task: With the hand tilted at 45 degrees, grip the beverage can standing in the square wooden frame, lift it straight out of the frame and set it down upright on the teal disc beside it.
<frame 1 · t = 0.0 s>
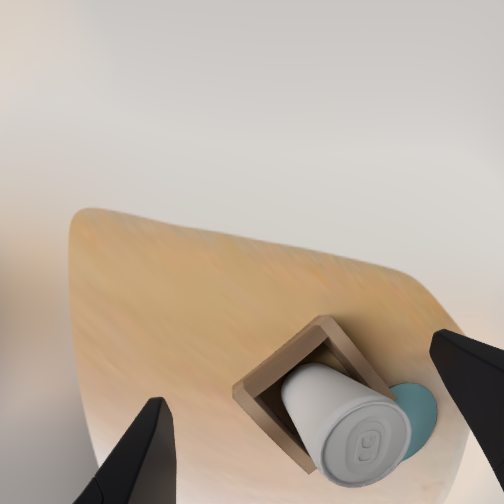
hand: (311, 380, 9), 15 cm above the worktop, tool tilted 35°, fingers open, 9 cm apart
square wooden frame: (309, 390, 23), on the worktop
beverage can: (309, 389, 23), resting in square wooden frame
teal disc: (399, 424, 22), on the worktop
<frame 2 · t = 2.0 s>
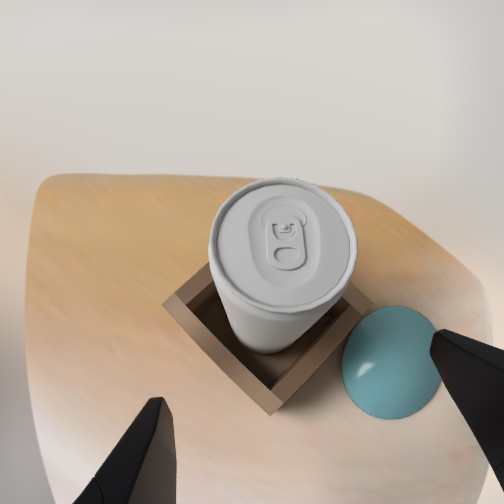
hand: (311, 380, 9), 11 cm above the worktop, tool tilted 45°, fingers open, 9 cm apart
square wooden frame: (266, 318, 20), on the worktop
beverage can: (266, 319, 20), resting in square wooden frame
teal disc: (394, 362, 19), on the worktop
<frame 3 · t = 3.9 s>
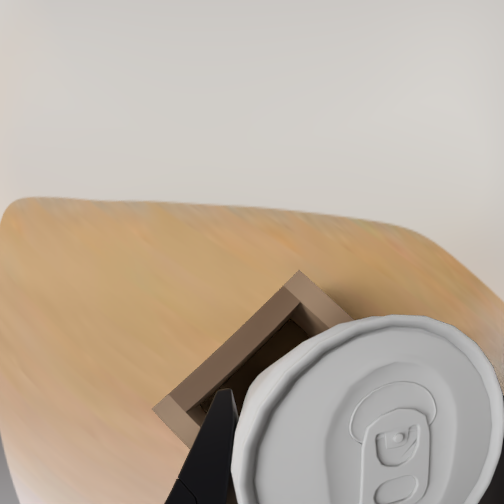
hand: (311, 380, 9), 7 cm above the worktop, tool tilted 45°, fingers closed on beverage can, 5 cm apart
square wooden frame: (292, 406, 14), on the worktop
beverage can: (291, 405, 14), resting in square wooden frame, touching gripper
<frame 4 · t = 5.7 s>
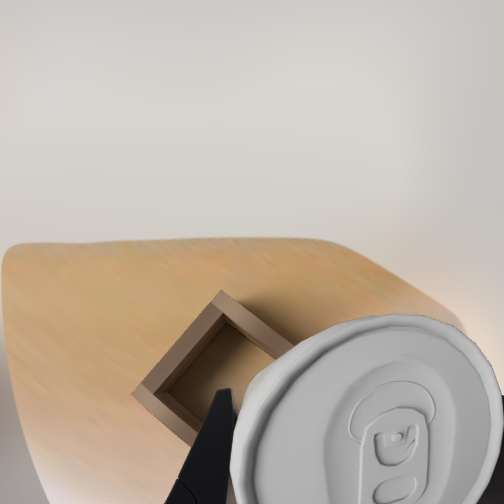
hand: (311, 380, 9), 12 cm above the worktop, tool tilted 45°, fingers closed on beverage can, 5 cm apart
square wooden frame: (234, 387, 20), on the worktop
beverage can: (290, 405, 14), point 5 cm above the worktop, touching gripper
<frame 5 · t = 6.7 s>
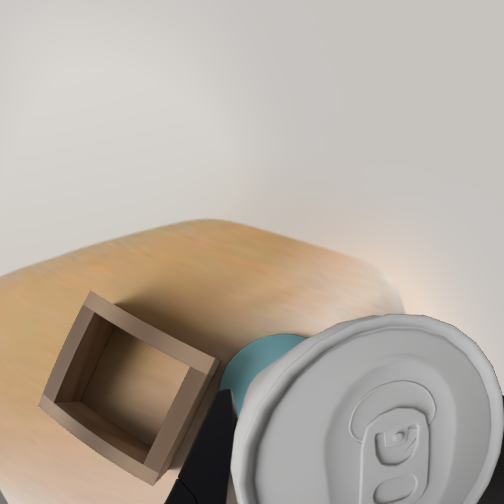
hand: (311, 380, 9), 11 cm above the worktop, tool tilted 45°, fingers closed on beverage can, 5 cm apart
square wooden frame: (135, 387, 18), on the worktop
beverage can: (291, 404, 14), point 4 cm above the worktop, touching gripper
teal disc: (282, 395, 18), on the worktop
when the fingers open (8 cm above the worktop, at t = 7.6 s): beverage can stays where it is, resting on teal disc.
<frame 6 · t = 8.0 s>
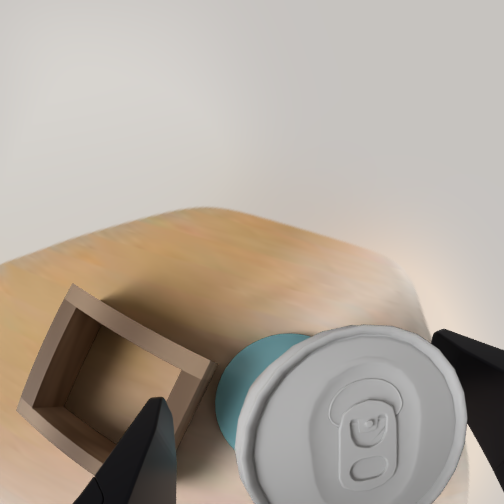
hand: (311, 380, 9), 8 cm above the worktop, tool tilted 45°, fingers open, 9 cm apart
square wooden frame: (123, 392, 16), on the worktop
beverage can: (288, 406, 15), resting on teal disc
teal disc: (288, 403, 16), on the worktop
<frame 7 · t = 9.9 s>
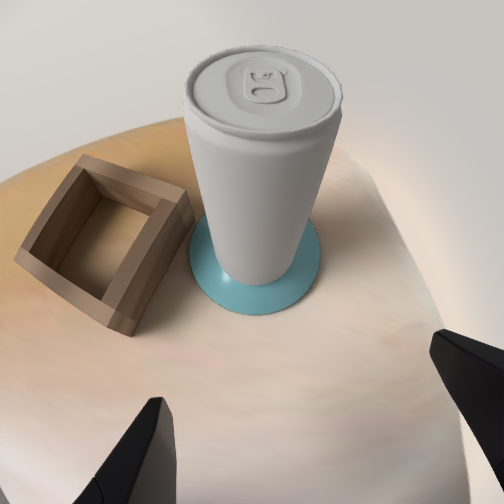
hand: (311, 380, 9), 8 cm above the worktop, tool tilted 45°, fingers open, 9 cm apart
square wooden frame: (110, 250, 19), on the worktop
beverage can: (254, 251, 19), resting on teal disc
teal disc: (254, 251, 19), on the worktop
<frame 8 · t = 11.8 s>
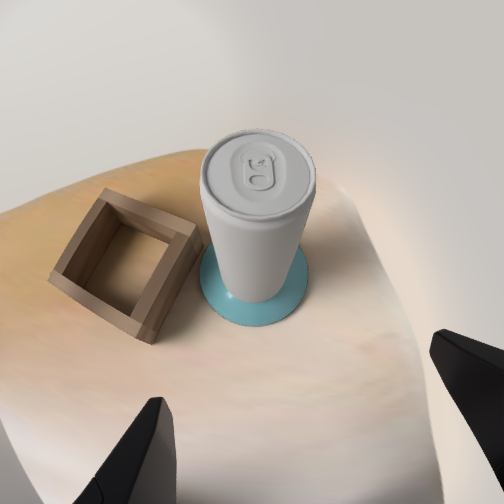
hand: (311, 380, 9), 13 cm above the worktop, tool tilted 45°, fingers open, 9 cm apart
square wooden frame: (132, 271, 23), on the worktop
beverage can: (253, 274, 23), resting on teal disc
teal disc: (253, 273, 23), on the worktop
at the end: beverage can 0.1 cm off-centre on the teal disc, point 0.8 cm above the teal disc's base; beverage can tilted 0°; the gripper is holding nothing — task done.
